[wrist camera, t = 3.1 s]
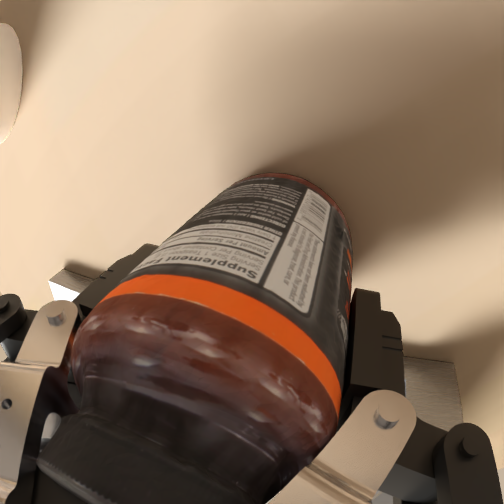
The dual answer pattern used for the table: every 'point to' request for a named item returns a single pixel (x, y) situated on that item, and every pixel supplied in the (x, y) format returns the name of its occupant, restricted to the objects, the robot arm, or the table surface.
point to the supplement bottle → (214, 356)
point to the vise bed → (415, 371)
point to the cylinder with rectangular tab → (9, 79)
